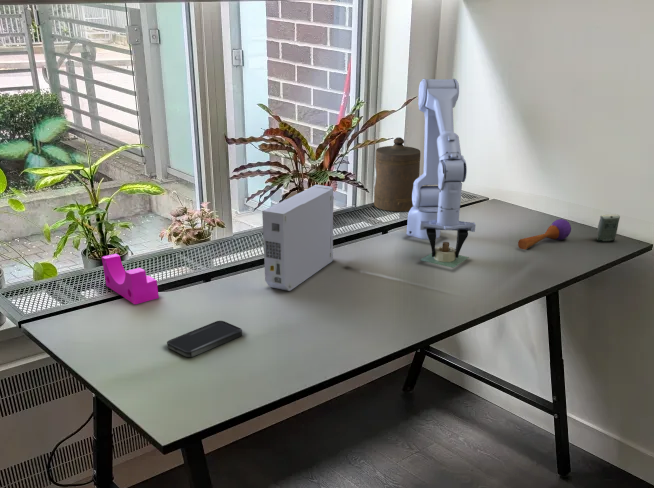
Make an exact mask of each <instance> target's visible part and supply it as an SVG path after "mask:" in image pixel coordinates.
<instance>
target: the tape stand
mask: <svg viewBox="0 0 654 488" xmlns="http://www.w3.org/2000/svg"><path fill="white" fill-rule="evenodd" d="M441 246H442V252H449V247H450V242H449V241H443V242H442V245H441ZM469 258H470V257H469V256H467V255H461V254H459V256H458V258H456V257H455V260H454V261H452V262H441V261H437V260H435V259H434V257H432V252H431V253H429V254H428V255H426V256H425V257H422V258H421V259H420V261H422V262H426V263H430V264H434V265H439V266H443V267H448V268H453V269H454V268H455V267H457V266H458V265H460V264H461V263H463V262H465V261H466V260H468V259H469Z"/></svg>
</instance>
